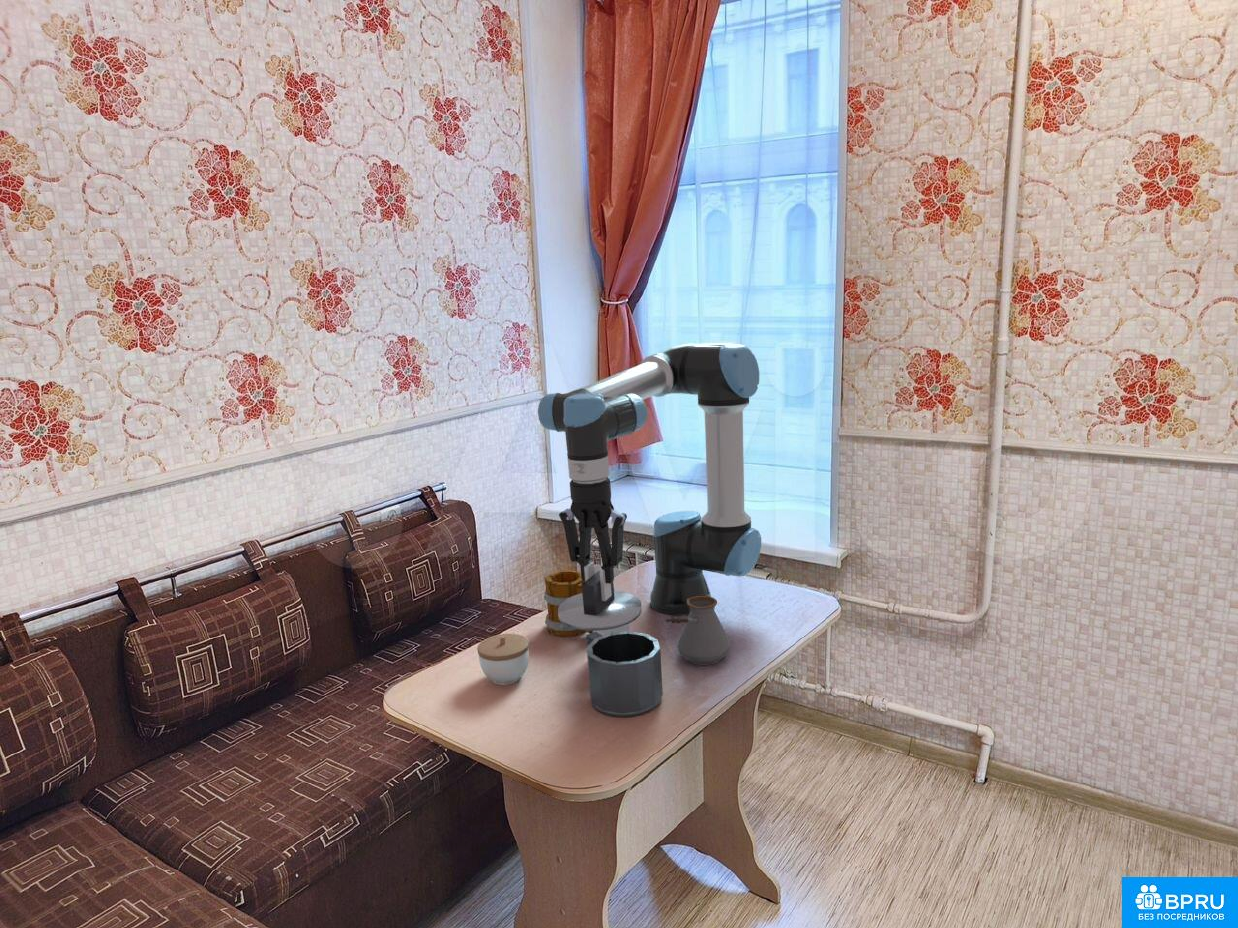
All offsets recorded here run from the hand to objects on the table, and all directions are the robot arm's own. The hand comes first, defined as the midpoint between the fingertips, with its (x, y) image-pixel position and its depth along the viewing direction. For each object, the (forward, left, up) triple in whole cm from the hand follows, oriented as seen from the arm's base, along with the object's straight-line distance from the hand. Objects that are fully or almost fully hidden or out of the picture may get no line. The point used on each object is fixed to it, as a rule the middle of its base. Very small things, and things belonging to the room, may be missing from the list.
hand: (599, 596), depth 158 cm
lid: (0, 0, -4) cm, 4 cm away
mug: (-13, -32, -22) cm, 41 cm away
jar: (-11, -14, -22) cm, 29 cm away
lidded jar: (+11, -22, -22) cm, 33 cm away
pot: (-3, 0, -22) cm, 22 cm away
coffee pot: (-22, +1, -22) cm, 31 cm away
